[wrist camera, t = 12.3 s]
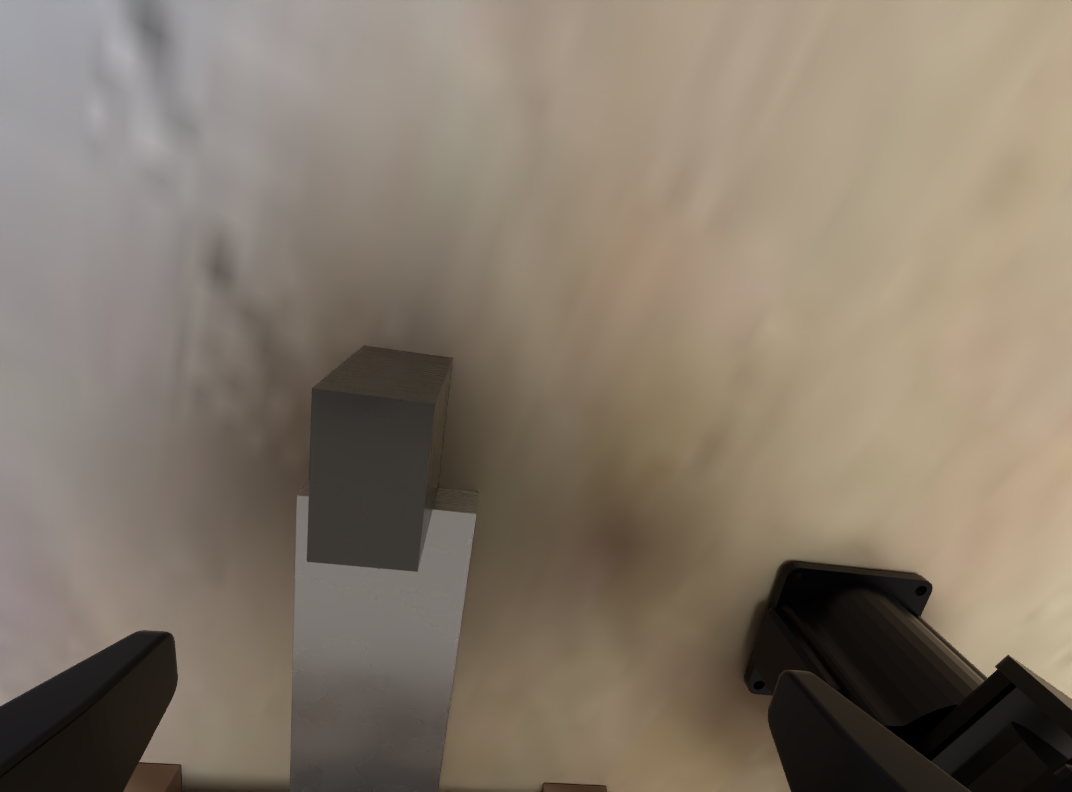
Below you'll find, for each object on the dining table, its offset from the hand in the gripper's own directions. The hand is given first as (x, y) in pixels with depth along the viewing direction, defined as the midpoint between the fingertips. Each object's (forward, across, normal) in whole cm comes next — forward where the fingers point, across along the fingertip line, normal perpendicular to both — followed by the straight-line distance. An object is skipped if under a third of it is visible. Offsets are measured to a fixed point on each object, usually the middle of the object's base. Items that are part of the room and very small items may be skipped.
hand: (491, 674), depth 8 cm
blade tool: (+11, +4, +9) cm, 15 cm away
